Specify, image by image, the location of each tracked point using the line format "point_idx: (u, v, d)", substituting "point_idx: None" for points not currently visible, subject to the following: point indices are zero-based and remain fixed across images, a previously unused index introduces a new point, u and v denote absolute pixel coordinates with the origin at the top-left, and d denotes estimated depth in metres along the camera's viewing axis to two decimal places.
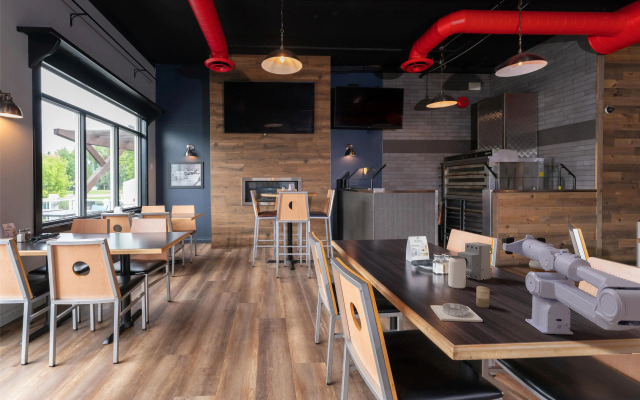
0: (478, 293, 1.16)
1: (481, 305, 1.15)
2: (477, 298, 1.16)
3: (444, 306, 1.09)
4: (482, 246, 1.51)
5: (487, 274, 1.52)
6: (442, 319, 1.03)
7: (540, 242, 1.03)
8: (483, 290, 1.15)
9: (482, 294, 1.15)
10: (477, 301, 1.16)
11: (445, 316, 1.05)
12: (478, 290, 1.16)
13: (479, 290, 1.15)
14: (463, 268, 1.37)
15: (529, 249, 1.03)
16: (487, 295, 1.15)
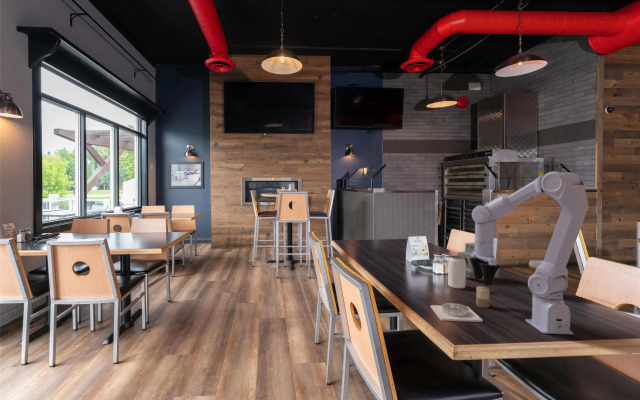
0: (478, 293, 1.16)
1: (481, 305, 1.15)
2: (477, 298, 1.16)
3: (444, 306, 1.09)
4: None
5: None
6: (442, 319, 1.03)
7: None
8: (483, 290, 1.15)
9: (482, 294, 1.15)
10: (477, 301, 1.16)
11: (445, 316, 1.05)
12: (478, 290, 1.16)
13: (479, 290, 1.15)
14: (463, 268, 1.37)
15: (477, 240, 1.15)
16: (487, 295, 1.15)
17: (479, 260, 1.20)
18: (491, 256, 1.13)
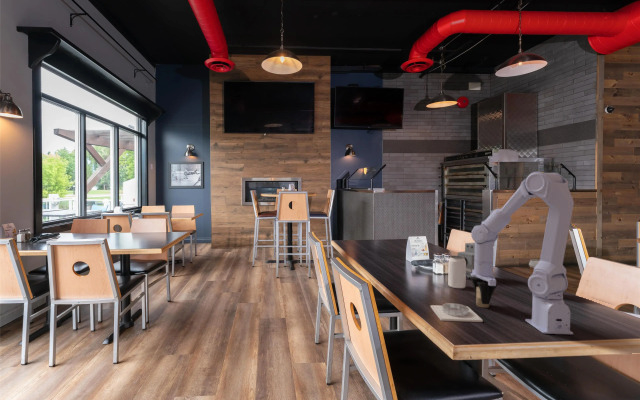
0: (478, 293, 1.16)
1: (481, 305, 1.15)
2: (477, 298, 1.16)
3: (444, 306, 1.09)
4: None
5: None
6: (442, 319, 1.03)
7: None
8: None
9: None
10: (477, 301, 1.16)
11: (445, 316, 1.05)
12: (478, 290, 1.16)
13: (479, 290, 1.15)
14: (463, 268, 1.37)
15: (476, 259, 1.15)
16: None
17: (480, 280, 1.19)
18: (491, 276, 1.14)
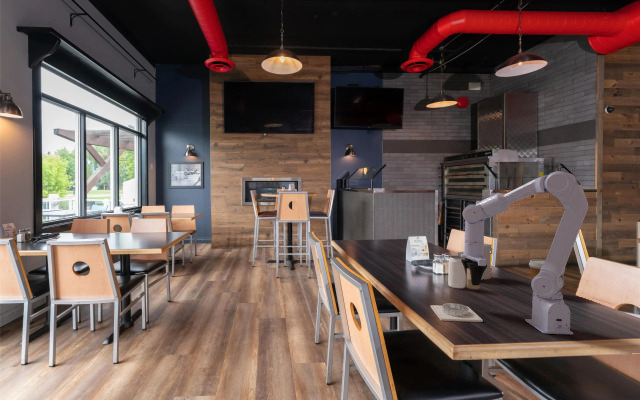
0: (468, 274, 1.12)
1: (471, 286, 1.12)
2: (467, 279, 1.13)
3: (444, 306, 1.09)
4: None
5: (487, 274, 1.52)
6: (442, 319, 1.03)
7: None
8: None
9: None
10: (467, 283, 1.13)
11: (445, 316, 1.05)
12: (468, 271, 1.12)
13: (469, 271, 1.12)
14: (463, 268, 1.37)
15: (468, 240, 1.11)
16: None
17: (471, 261, 1.15)
18: (481, 256, 1.10)
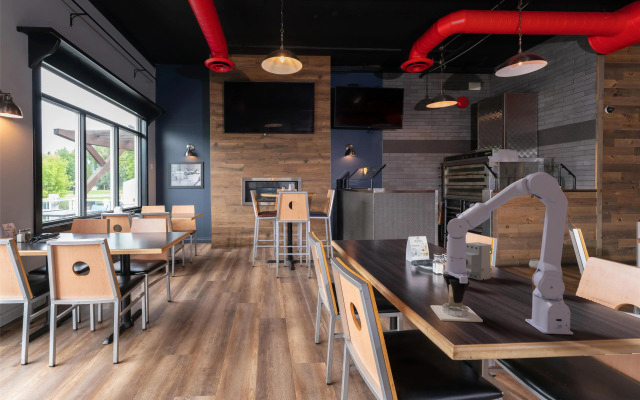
0: (451, 291, 1.07)
1: (454, 304, 1.07)
2: (449, 296, 1.08)
3: (444, 306, 1.09)
4: (482, 246, 1.51)
5: (487, 274, 1.52)
6: (442, 319, 1.03)
7: None
8: None
9: None
10: (450, 300, 1.08)
11: (445, 316, 1.05)
12: (451, 288, 1.07)
13: None
14: None
15: (453, 256, 1.06)
16: None
17: (453, 277, 1.10)
18: (463, 273, 1.05)
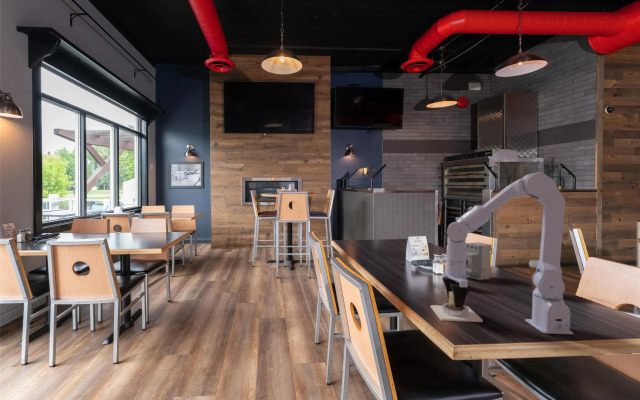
0: (450, 299, 1.07)
1: None
2: (449, 304, 1.08)
3: (444, 306, 1.09)
4: (482, 246, 1.51)
5: (487, 274, 1.52)
6: (442, 319, 1.03)
7: None
8: None
9: None
10: (449, 307, 1.08)
11: (445, 316, 1.05)
12: (450, 295, 1.07)
13: (451, 295, 1.07)
14: None
15: (453, 259, 1.06)
16: None
17: (452, 280, 1.11)
18: (463, 276, 1.05)
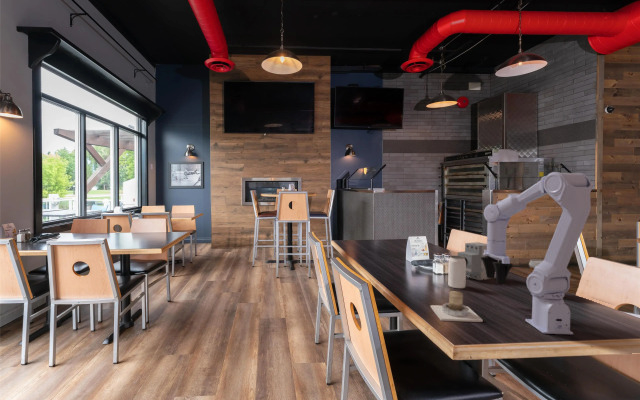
0: (451, 298, 1.07)
1: None
2: (449, 303, 1.08)
3: (444, 306, 1.09)
4: (482, 246, 1.51)
5: None
6: (442, 319, 1.03)
7: None
8: (456, 295, 1.06)
9: (455, 300, 1.06)
10: (449, 307, 1.08)
11: (445, 316, 1.05)
12: (451, 295, 1.07)
13: (452, 295, 1.07)
14: (463, 268, 1.37)
15: (488, 238, 1.16)
16: (460, 300, 1.06)
17: (491, 259, 1.20)
18: (504, 255, 1.14)
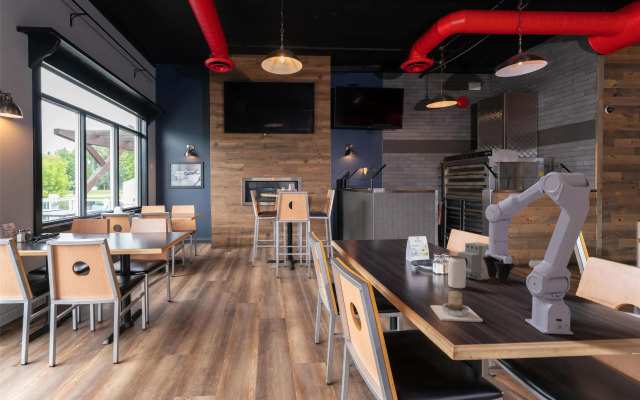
0: (450, 298, 1.07)
1: None
2: (449, 303, 1.08)
3: (444, 306, 1.09)
4: (482, 246, 1.51)
5: (487, 274, 1.52)
6: (442, 319, 1.03)
7: None
8: (455, 295, 1.06)
9: (454, 300, 1.06)
10: (449, 307, 1.08)
11: (445, 316, 1.05)
12: (450, 295, 1.07)
13: (451, 295, 1.07)
14: (463, 268, 1.37)
15: (489, 238, 1.17)
16: (459, 300, 1.06)
17: (493, 259, 1.21)
18: (505, 254, 1.14)
